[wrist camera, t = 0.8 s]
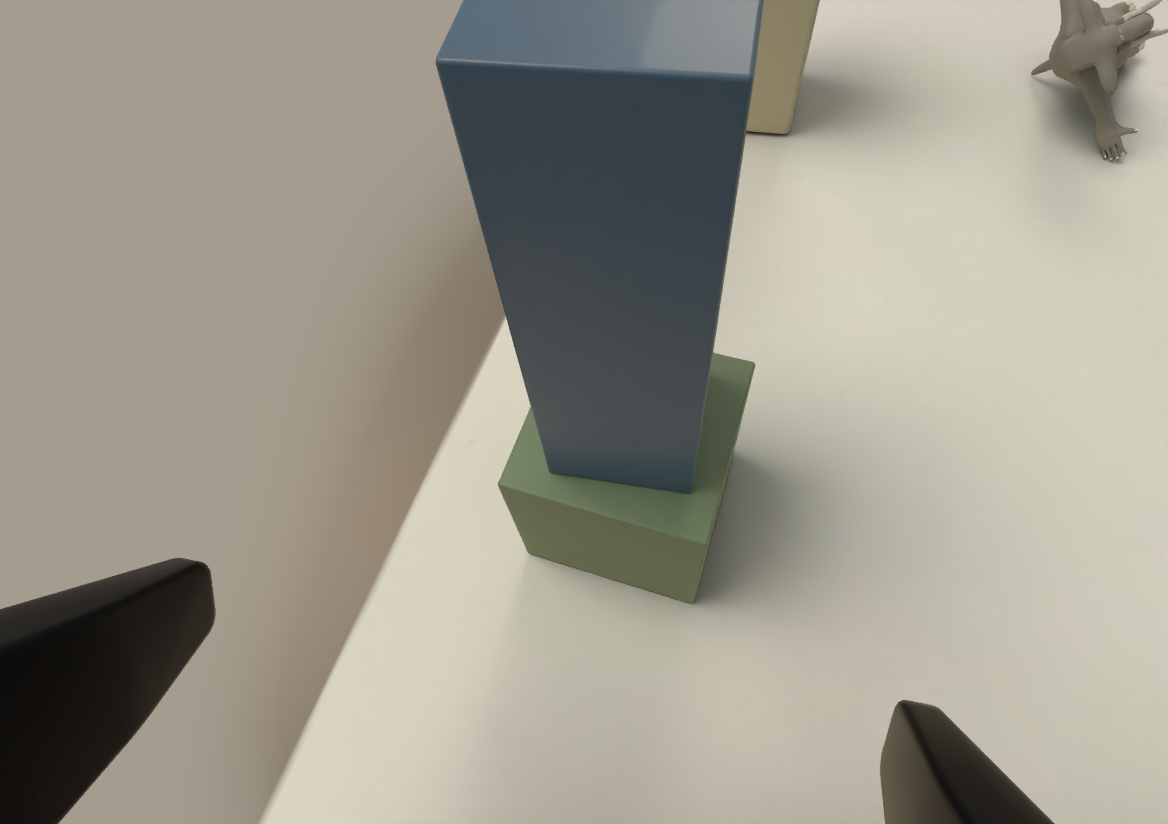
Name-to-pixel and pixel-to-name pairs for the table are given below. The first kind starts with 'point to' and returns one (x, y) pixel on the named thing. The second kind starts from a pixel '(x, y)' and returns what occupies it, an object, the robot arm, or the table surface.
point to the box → (780, 63)
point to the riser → (631, 502)
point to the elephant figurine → (1099, 57)
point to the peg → (607, 209)
